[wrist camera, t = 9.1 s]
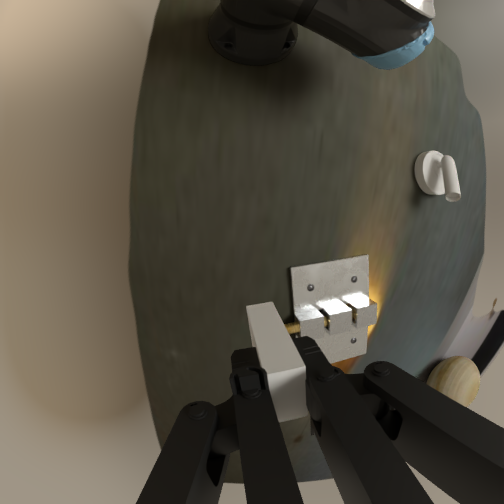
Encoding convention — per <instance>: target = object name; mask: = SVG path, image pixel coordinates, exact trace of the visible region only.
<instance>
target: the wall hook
mask: <svg viewBox="0 0 504 504" xmlns="http://www.w3.org/2000/svg"><path fill="white" fill-rule="evenodd" d="M415 177H416V180H417V183H418V185H419V187H420V188H421V189H422V190H423V191H424V192H425V193H427V194H429V195H441V194H444V193H445V196H446V199H447V200H448V201H451V202H455V201H458V200H459V199H460V198H461V194H460V187H459V182H458V176H457V171H456V166H455V162H454V160H453V158H452V157H450V156H448V155H445V156H443V155H442V154H441V153H439V152H437V151H428V152H423V153H421V154H420V155H419V156H418V157H417V159H416V162H415Z"/></svg>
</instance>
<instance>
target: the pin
mask: <svg viewBox="0 0 504 504" xmlns="http://www.w3.org/2000/svg"><path fill="white" fill-rule="evenodd" d="M355 314H356V311H355V310H354V309H353V310H352V320H355ZM284 325H285V327H286V329H287V331H288V333H289V334H293V333H298V332H300V330H299V322H293V323H288V324H284ZM326 326H329V318H328V316H324V327H326Z"/></svg>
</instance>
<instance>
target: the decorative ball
mask: <svg viewBox="0 0 504 504" xmlns="http://www.w3.org/2000/svg"><path fill="white" fill-rule="evenodd" d="M426 384H427V385H429V386H430V387H432V388H434V389H436V390H437V391H439V392H441V393H442V394H444V395H446V396H448V397H449V398H451V399H453V400H454V401H456V402H458V403H460V404H461V405H463V406H465V407H468V406H469V405H470V404H471V403H472V401H473V400H474V399H475V397H476V395H477V393H478V390H479V386H480V375H479V371H478V368H477V366H476V365H475V364H474V363H473V361H471V360H470V359H468V358H466V357H463V356H453V357H450V358H447V359H445V360H443V361H442V362H440V363H439V364H438V365H437V366H436V367H435V368H434V369H433V370H432V372H431V373H430V375H429V377H428V380H427V383H426Z"/></svg>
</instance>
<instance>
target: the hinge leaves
mask: <svg viewBox="0 0 504 504" xmlns="http://www.w3.org/2000/svg"><path fill="white" fill-rule="evenodd" d="M290 276H291V288H292V300H293V313H294V322H299V330H300V332H298V333H295V338H299V337H303V336H308V337H310V338H312V339H314V340H315V341H316V343H317V344H318V347H320V349H321V351H322V352H323V353H324V355H325V356H326V358H327V359H328V361H329V362H330V363H334V362H338V361H341V360H345V359H348V358H352V357H355V356H358V355H362V354H365V353H366V348H367V332H368V326H369V325H373V324H376V320H377V303H376V302H374V301H372V300H371V299H369V262H368V255H367V254H364V255H358V256H352V257H346V258H340V259H334V260H328V261H322V262H316V263H310V264H304V265H297V266H291V267H290ZM345 304H347V306H346V305H345ZM321 309H322V314H321V313H320V312H319V311H318V310H321ZM353 309H354V310H355V311H356V314H355V320H352V310H353ZM324 316H328V318H329V326H326V327H324Z"/></svg>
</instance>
